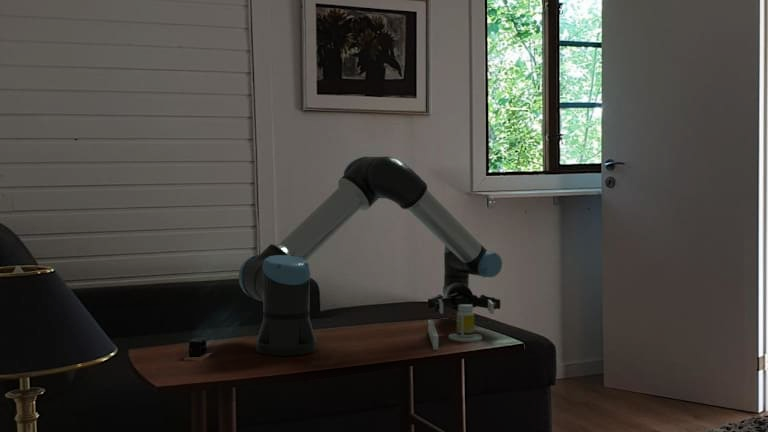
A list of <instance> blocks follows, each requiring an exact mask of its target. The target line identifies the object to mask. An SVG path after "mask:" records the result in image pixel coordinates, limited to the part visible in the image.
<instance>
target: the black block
mask: <svg viewBox="0 0 768 432" xmlns="http://www.w3.org/2000/svg"><path fill="white" fill-rule="evenodd" d="M188 342H189V343H188V355H189V356H188V357H201V356H203V355H205V354H207V353H206V352H207V339H206V338H198V337H197V338H193V339H191V340H189V341H188Z"/></svg>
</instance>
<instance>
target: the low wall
mask: <svg viewBox="0 0 768 432" xmlns="http://www.w3.org/2000/svg"><path fill="white" fill-rule="evenodd" d="M427 324H428V325H427V327H428V328H427V330H428V331H427V332H428V336H429V339H430V342H431V345H432V349H433V350H434V351H435V350H437V351H438V350H439V334H438V331H437V329H436V326H435V323H434V320H433V319H428V322H427Z"/></svg>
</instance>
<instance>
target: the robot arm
mask: <svg viewBox="0 0 768 432" xmlns="http://www.w3.org/2000/svg"><path fill="white" fill-rule="evenodd" d="M337 186H338V187H337V189H336V190H335V191H334V192H332V193H331V194H330V196H328V197H327V198H326V199H325V200H324V201H322V203H320V204H319V206H317V208H315V209H314V211H312V212H311V213H310V214H309V215H308V216H307V217H306V218H304V220H302V222H301V223H299V225H297V227H296V228H294V229H293V231H291V232H290V233H289V234H288V235H287V236H286V237H285V238H284V239H282V241H281V242H279V243H270V244H269V245H268V246H267V247H266V248H265V249H264V250H263V251H262V252H261V253H260V254H255V255H252V256H251V257H249V258H247V259H246V260H245V261H244V262H243V263H242V265H241V267H240V270H239V273H238V282H239V286H240V288H241V290H242V291H243V292H244V293H245V294H246V295H247V296H248V297H250V298H251V299H253V300H256V301H260V302H262V303H263V305H262V307H263V309H262V311H263V314H262V315H263V316H262V317H263V318H262V323H261V326H260V329H259V332H258V336H257V339H256V344H255V345H256V346H255V348H256V352H257V353H259V354H262V355H268V356H276V357H277V356H279V357H284V356H285V357H289V356H292V357H293V356H301V355H306V354H310V353H314V352H315V351H316V350H317V339H316V335H315V331H314V329H313V326H312V323H311V319H310V298H311V297H310V294H311V293H310V291H311V290H310V289H311V288H310V287H311V285H310V284H311V283H310V282H311V270H310V264H309V262H308V261H309V259H310V258H312V257H313V255H314V254H316V253H317V252H318V251H319V249H321V248H322V247H323V246H324V245H325V244H326V243H327V242H328V241H330V240H331V238H332V237H334V235H335V234H336V233H337V232H338V231H339V230H340V229H341V228H342V227H343V226H345V224H346V223H348V221H350V219H351V218H352V217H354V216H355V215H357V213H358V212H359V211H367V210H368V209H370V208H371V207H372V205H374V204H375V202H377V201H378V200H379V199H387V200H390V201H391V202H393V203H395V204H396V205H398V206H399V207H400V208H401V209H402V210H408V211H410V213H411V214H412V215H413V216H415V218H416V219H418V220H419V221H420V223H422V224H423V225H424V226H425V227H426V228H427V229H428V231H430V232H431V233H432V234H433V235H434V236H435V237H436V238H437V239H438V240H439V241H440V242H441V243H442V244H443V245H444V252H443V257H444V264H443V265H444V274H443V279H444V280H443V287H442V294H443V295H442V294H437V295H436V296H433V297H431V298H427V309H430V310H431V309H434V310H433V311H434V312H439V313H440V314H442V315H443V314H444V308H447V307H449V308H451V309H453V310H454V311H456V312H459V310H458V305H460V304H470V305H473V308H484V309H487V311H488V312H489V313H490V314H491V315H493V314H494V313H495V312H494V311H495V310H496V309H497V310H500V309H501V299H499V298H495V296H494V297H491V296H486V295H484V294H481V295H479V296H477V294H473V292H472V290H471V288H470V287H469V281H470V280H469V277H470V275H473V276H478V277H481V278H495V277H496V276H498V275H499V274H500V272H501V270H502V269H503V268H502V267H503V260H502V257H501V256H500V255H499V253H497V252H494V251H491V250H487V249H486V248H485V247H484V246H483V245H482V244H481V243H480V242H479V241H478V240H477V239H476V238H475V237H474V236H473V235H472V233H470V232H469V230H468V229H466V228H465V227H464V226H463V224H462V223H460V222H459V220H458V219H456V217H454V215H453V214H452V213H451V212H449V210H448V209H447V208H446V207H445V206H444V205H443V204H441V202H440V201H439V200H438V199H437V198H436V197H435V196H434V195H433V194H432V193H431V191H429V190H428V184H427V182H425V180H423V179H422V178H421V176H419V175H418V174H417V172H415V171H414V170H413V169H412V168H410V167H409V166H408V165H407V164H406V163H404V162H403V161H401V160H399V159H398V158H395V157H393V156H362V157H358V158H356V159H353V160H352V161H351V162H349V164H347V165H346V167H345V169H344V171H343V176H341V177H340V178H339V180H338V184H337Z"/></svg>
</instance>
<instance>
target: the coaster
mask: <svg viewBox="0 0 768 432" xmlns="http://www.w3.org/2000/svg"><path fill="white" fill-rule="evenodd" d="M448 339H449V341H455V342H464V343H469V342H470V343H472V342H479V341H482V339H483V335H481V334H478V333H474V336H472V337H459V336H457V332H455V333H454V332H453V333H450V334H449V335H448Z"/></svg>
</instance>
